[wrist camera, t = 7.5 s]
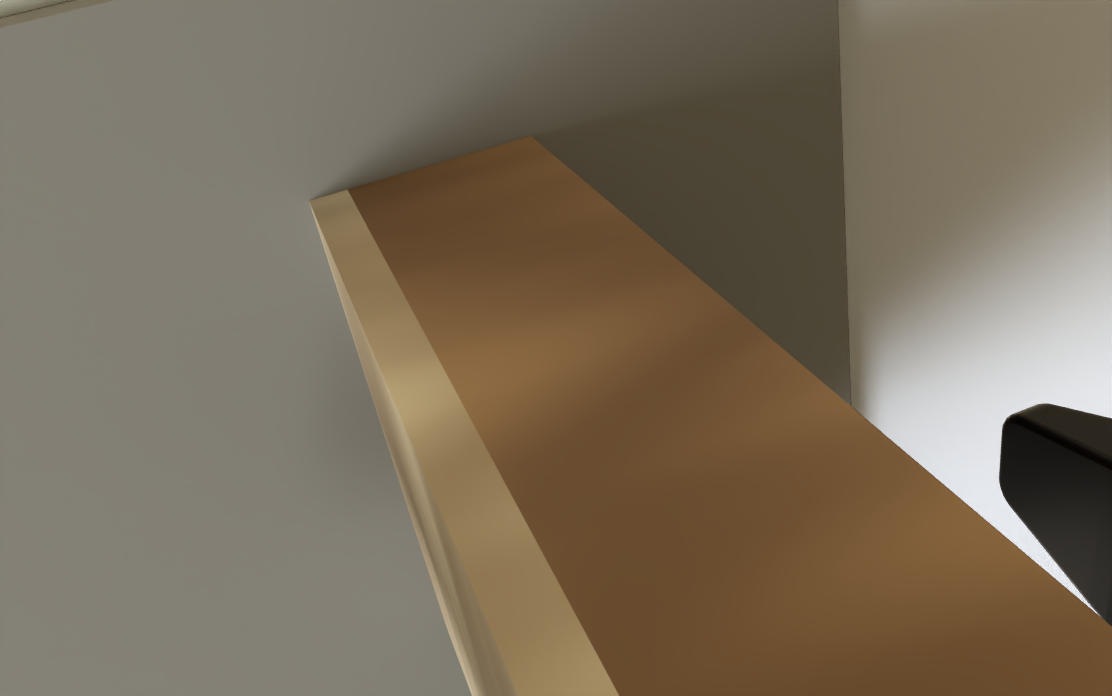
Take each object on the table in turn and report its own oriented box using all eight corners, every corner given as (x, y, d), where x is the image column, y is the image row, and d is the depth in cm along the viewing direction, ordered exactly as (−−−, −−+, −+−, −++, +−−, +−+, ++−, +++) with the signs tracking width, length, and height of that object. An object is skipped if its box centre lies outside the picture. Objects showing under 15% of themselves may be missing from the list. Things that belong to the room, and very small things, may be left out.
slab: (530, 135, 11) (1415, 884, 3) (612, 555, 14) (1164, 1431, 6) (309, 200, 10) (752, 1251, 3) (444, 621, 13) (829, 1657, 6)
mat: (801, -178, 11) (832, -177, 10) (835, 573, 17) (856, 597, 16) (-1086, 282, 8) (-1170, 316, 7) (-238, 1023, 13) (-252, 1070, 13)
